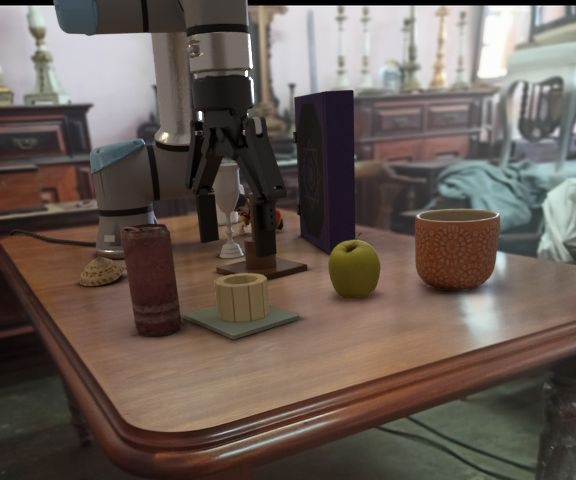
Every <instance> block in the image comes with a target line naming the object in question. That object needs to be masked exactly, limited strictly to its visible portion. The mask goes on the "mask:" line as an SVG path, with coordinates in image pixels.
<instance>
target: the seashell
mask: <svg viewBox="0 0 576 480" xmlns="http://www.w3.org/2000/svg"><path fill="white" fill-rule="evenodd" d="M124 271H127V269H126V266H125V265H121V264H119V262H117V261H115V260H113V259H110V258H103V257H99V256H96V257H95V258H94V259H92V260H91V261H90V262H89V263H88V264H87V265H86V266H85V267H84V268H83V270H82V271H81V273H80V275H79V280H78V282H79V285H81V286H84V287H97V286H104V285H106V284H110V283H112V282H114V281H116V280H118V279H119V278H120V277H121V276H122V275H123V272H124Z"/></svg>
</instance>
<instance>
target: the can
mask: <svg viewBox="0 0 576 480" xmlns="http://www.w3.org/2000/svg"><path fill="white" fill-rule="evenodd" d="M121 241H122V247H123V251H124V257H125V258H124V262H125V263H124V264H125V267H126V275H127V281H128V288H129V294H130V299H131V306H132V312H133V319H134V324H135V329H136V331H137V332H138V333H139V334H140V335H141V336H145V337H161V336H167V335H171V334H173V333H176V332H178V331H179V330H180V328H181V326H182V315H181V307H180V299H179V292H178V285H177V276H176V269H175V261H174V253H173V246H172V239H171V232H170V229H168V227H167V225H166V224H165V223H164V224H163V223H158V224H142V225H135V226H130V227H124V228H123V229H122V230H121Z"/></svg>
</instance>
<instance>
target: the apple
mask: <svg viewBox="0 0 576 480" xmlns="http://www.w3.org/2000/svg"><path fill="white" fill-rule="evenodd" d="M361 234H362V232H360V233H359V234H357V236H356V240H350V241H344V242H342V243H340V244H338V245H337V246H336V247H335V248H334V249H333V251H332V252H331V255H330V254H329V258H328V263H327V267H328V274H329V279H330V281H331V284H332V287H333V290H334V292H335V293H336V294H337V295H338V296H340V297H342V298H353V299H355V298H366V297H367V296H369V295H371V294H372V293H373V292H374V291H375V290H376V289H377V286H378V284H379V279H380V276H381V275H380V274H381V259H380V256H379V254H378V253H377V250H375V248H374V247H373V246H372V245H371V244H370V243H369V242H367V241H364V240H362V239H358V238H359V237H360V236H361Z"/></svg>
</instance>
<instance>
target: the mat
mask: <svg viewBox="0 0 576 480" xmlns="http://www.w3.org/2000/svg"><path fill="white" fill-rule="evenodd" d="M182 318H183V319H184V320H187V321H189V322H192V323H194V324H196V325H199V326H200V327H203V328H205V329H208V330H210V331H212V332H214V333H217V334H218V335H222V336H224V337H226V338H228V339H231V340H233V341H234V340H238V339H241V338H244V337H246V336H251V335H253V334H257V333H259V332H260V333H261V332H263V331H267V330H268V329H272V328H275V327H276V328H277V327H279V326H282V325H285V324H288V323H292V322H295V321H298V320H300V314H297V313H295V312H292V311H288V310H285V309H282V308H278V307H276V306H273V305H271V304H269V313H268V314H267V315H266V316H265V317H264V318H260V319H257V320H254V321H251V320H250V321H248V322H236V321H235V322H230V321H224V320H221V319H220V318H219V317H218V313H217V304H216V305H212V306H207V307H204V308H201V309H200V308H199V309H197V310H193V311H191V312H186V313H183V314H182Z"/></svg>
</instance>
